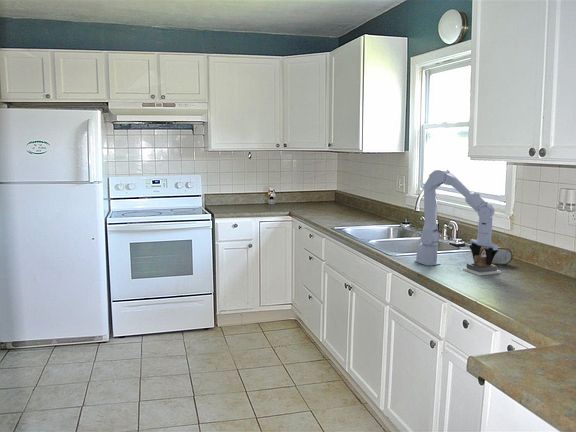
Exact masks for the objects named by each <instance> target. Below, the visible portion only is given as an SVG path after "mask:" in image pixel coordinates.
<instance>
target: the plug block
mask: <svg viewBox="0 0 576 432" xmlns="http://www.w3.org/2000/svg"><path fill="white" fill-rule="evenodd" d="M473 263H474V265H475V266H478V267H487V266H491V265H486V255H475V256H474V260H473Z"/></svg>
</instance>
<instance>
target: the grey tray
mask: <svg viewBox="0 0 576 432" xmlns="http://www.w3.org/2000/svg"><path fill="white" fill-rule="evenodd" d="M462 271H464V272H467V273H471V274H473V275H476V276H486V275H494V274H495V275H497V274H501V270H499V269H498V265H497V264H491V266H487V267H478V266H475V265H474V262H469V263H466V266H465V267H463V268H462Z"/></svg>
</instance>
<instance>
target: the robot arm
mask: <svg viewBox="0 0 576 432" xmlns="http://www.w3.org/2000/svg"><path fill="white" fill-rule="evenodd" d="M442 185H447V186H451V187H452V188H453V189H454V190H456V191H457V192H459V194H460V195H462V197H464V199H465V203H466V204H468V205H469V207H471V209H473V210H474V212H476V213H477V216H478V223H477V235H476V237H477V238H476V239H475V238H474V239H473V238H472V239H469V240H470V241H469V244H470V245H469V246H468V247H469V248H470V252H471V253H472V258H473V261H474V256H475V255H479V253H480V249H481V248H482V247H486V248H489V249H485V252H486V265H491V263H492V260H493V258H494V256H495V254H496V253H497V252H498V246H499V245H497V244H495V243H493V242H492V233H493V219H494V218H493V216H494V215H495V208H494V207H493V205H492V204H489V202H488V201H486V200H484V199H483V197H481V194H480V193H479V192H478V193H477V192H474V191H473V192H471V191H470V190H469V189H468V188H467V187H466V186H465V185H464V184H463V182H462V181H460V180H459V179H458V177H456V175H454V173H452V172H450V170H449V169H448V168H440V169H435V170H434V171H432V172H431V173H430V174H428V178H427V180H426V182H425V183H424V185H423V210H424V213H423V215H424V216H423V217H424V218H423V219H424V220H423V222H424V223H423V224H424V225H423V227H422V229H421V230H422V231H421V235H420V243H419V244H418V245H417V247H416V257H415V259H414V262H415V263H418V264H422V265H424V266H427V267H428V266H438V265H441V263H440V262H438V249H439V248H438V247H439V246H438V244H439V243H438V241H439V240H440V237H441V235H440V232H439V228H438V227H439V226H438V225H437V207H436V206H437V204H436V203H437V201H436V198H437V197H436V192H437V191H436V190H437V189H439V187H441V186H442Z"/></svg>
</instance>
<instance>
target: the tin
mask: <svg viewBox="0 0 576 432" xmlns="http://www.w3.org/2000/svg"><path fill="white" fill-rule="evenodd" d="M485 249H489V248H486V247H481V249H480V253H479V255H486V252H485ZM513 257H514V255H513V252H512V250H511V249H510V248H509V247H506V246H500V245H498V252H497V253H496V254H495V256H494V258H493V260H492V263H491V264H492V265H499V264H502V265H503V266H505V265H508V264H509V263H511V262H512V260H513ZM502 265H501V266H502Z"/></svg>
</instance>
